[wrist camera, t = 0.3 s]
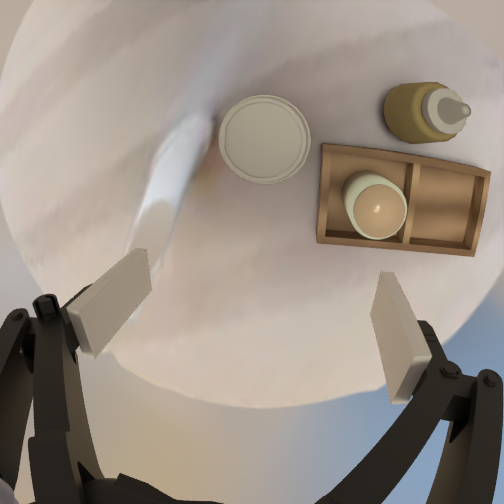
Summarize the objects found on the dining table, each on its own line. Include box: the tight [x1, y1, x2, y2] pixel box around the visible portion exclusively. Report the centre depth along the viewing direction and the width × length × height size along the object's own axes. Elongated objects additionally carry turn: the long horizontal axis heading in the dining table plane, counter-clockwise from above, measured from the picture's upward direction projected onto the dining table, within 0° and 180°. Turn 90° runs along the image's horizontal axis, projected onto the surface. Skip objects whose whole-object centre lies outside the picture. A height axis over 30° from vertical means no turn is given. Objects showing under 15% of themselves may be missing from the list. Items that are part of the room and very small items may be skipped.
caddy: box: [316, 143, 491, 257], centre depth 37 cm, size 13×25×4 cm, turn 89°
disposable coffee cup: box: [219, 95, 311, 184], centre depth 34 cm, size 10×10×12 cm
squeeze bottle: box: [383, 82, 471, 144], centre depth 26 cm, size 8×8×18 cm
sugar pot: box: [341, 170, 407, 239], centre depth 35 cm, size 7×7×9 cm
